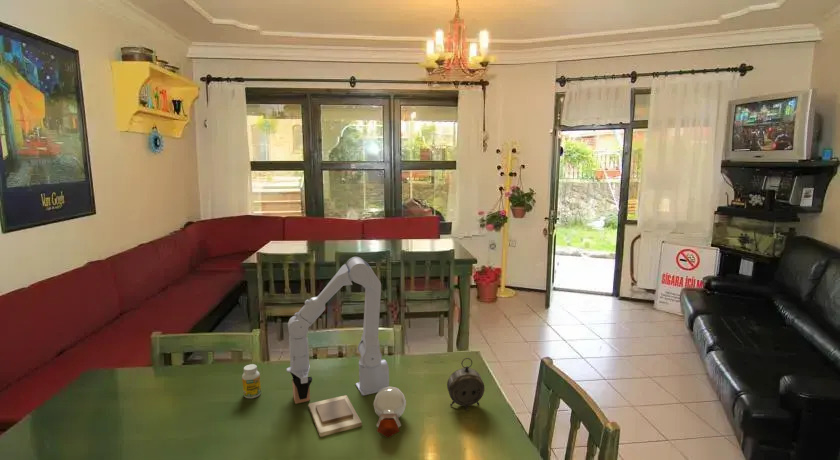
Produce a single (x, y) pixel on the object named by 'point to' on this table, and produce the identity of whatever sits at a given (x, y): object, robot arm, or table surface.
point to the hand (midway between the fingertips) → (301, 393)
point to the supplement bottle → (251, 381)
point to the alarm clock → (465, 386)
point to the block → (296, 396)
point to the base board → (334, 415)
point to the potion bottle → (389, 410)
